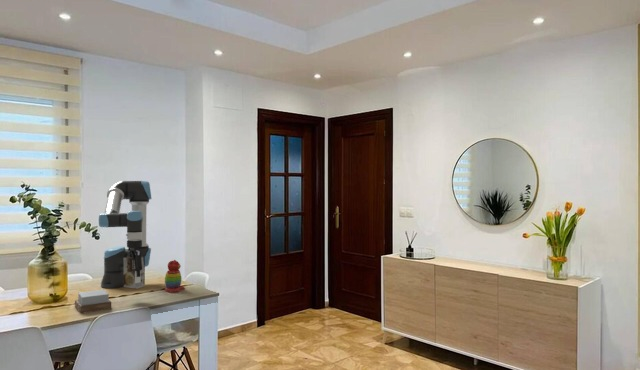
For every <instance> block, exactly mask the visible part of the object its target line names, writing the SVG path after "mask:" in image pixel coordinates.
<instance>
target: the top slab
mask: <svg viewBox="0 0 640 370" xmlns="http://www.w3.org/2000/svg"><path fill="white" fill-rule="evenodd" d="M77 300H79V302H80V304H81V305H82V306H83V305H90V304H98V303H105V302H109V300H110V298H109V293H108V292H107V291H106V290H105V288H103V289H97V290H88V291H81V292H78V299H77Z"/></svg>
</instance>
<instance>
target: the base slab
mask: <svg viewBox="0 0 640 370" xmlns="http://www.w3.org/2000/svg"><path fill="white" fill-rule="evenodd" d="M74 308H75V309H76V311H78V312H79V314H85V313H84V312H86V313H92V312H98V311H104V310H109V309H112V301H111V300H110V299H109V302H105V303H98V304H90V305H83V306H82V305H81V304H80V302H79V300H78V299H75V300H74ZM91 311H92V312H91Z"/></svg>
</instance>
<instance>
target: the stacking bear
mask: <svg viewBox="0 0 640 370" xmlns="http://www.w3.org/2000/svg"><path fill="white" fill-rule="evenodd" d="M180 268H181V263H179V262H178V261H177V260H176V259H174V260H171V261H169V262H168V263H167V269H168V270H167V271H166V274H165V277H164V285H165V289H164V291H165V292H166V293H173V294H177V293H180V291H185V289H186V287H185V286H183V285H182V275H181V271H180Z"/></svg>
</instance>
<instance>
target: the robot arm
mask: <svg viewBox="0 0 640 370" xmlns="http://www.w3.org/2000/svg"><path fill="white" fill-rule="evenodd" d="M151 191H152V190H151V183H150V182H149V181H146V180H121V181H117V182H116V183H114V184H113V185H112V186H110V187H109V189H108V190H107V192H106V198H107V201H106V206H105V209H104V212H103V213H100V214H99V216H98V226H99V227H100V228H126V229H127V230H126V234H125V236H126V239H127V240H126V247H127V248H126V247H125V246H116V247H111V248H107V249H106V250H105V251H104V252H103V253H104V255H103V259H104V261H103V263H104V265H103V269H104V270H103V272H104V273H103V276H102V278H101V282H100V287H101V288H103V289H116V288H124V257H128V256H130V257H131V256H132V258H136V261H135V260H134V263H135V270H134V271H135V283H141V270H142V261H141V256H144V257H145V268H146V267H148V266H149V265H150V259H151V252H152V248H151V247H149V244H148V243H147V205H148V204H149V203H150V200H152V192H151ZM123 200H129V203H130V204H131V210H129V211H127V213H126V212H125V213H121V211H120V210H121V205H122V201H123Z"/></svg>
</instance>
